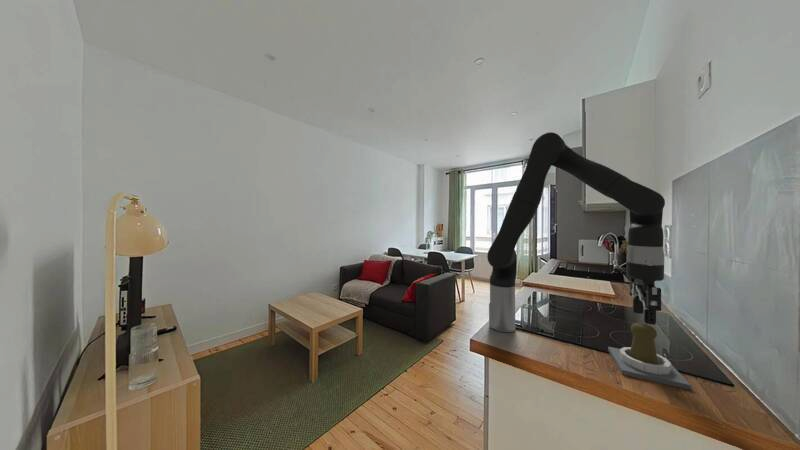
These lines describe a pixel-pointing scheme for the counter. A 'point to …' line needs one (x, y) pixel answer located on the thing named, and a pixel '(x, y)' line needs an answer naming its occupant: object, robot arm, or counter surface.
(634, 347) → the cork
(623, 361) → the stand
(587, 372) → the counter surface
